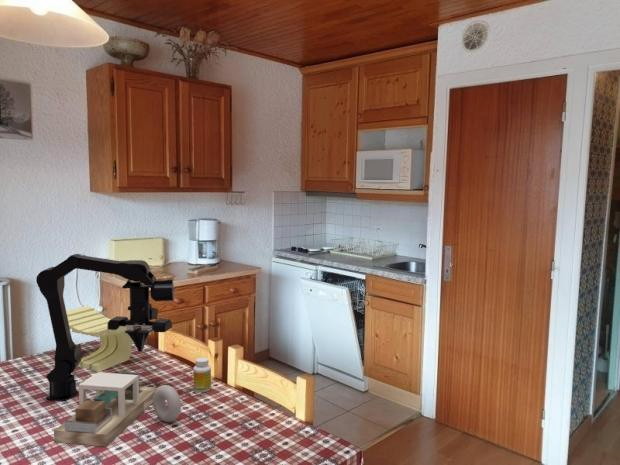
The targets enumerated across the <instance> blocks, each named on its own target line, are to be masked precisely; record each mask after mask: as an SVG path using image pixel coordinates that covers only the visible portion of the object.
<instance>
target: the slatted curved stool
mask: <svg viewBox="0 0 620 465" xmlns="http://www.w3.org/2000/svg"><path fill="white" fill-rule="evenodd" d="M66 313H67V318H68V322H69V327H70V330H71V332H72V333H74V334H81V335H85V336H90V337H94V338H100V340H101V345H100V347H99V348H98V349H97V350H95V351H94V352H92V353H90V354H88V355H86V356H82V357H81V362H80V364H79V365H78V366H77V367H79V368H82V369H86V370H91V371H95V372H102V371H104V370H107V369H109V368H112V367H114V366H115V367H116V366H117V365H120V364H122V363H124V362H127V361H129V359H130V358H131V354H132V345H133V340H132V339H131V337H130V336H129V335H128V333H125V331H126V326H119V328H118V329H117V330H108V327H107V324H108V321H109V320H111V319H112V318H109V317H106V315H103V314H102V313H101V312H100V311H98V310H96V309H95V308H94V307H91V306H88V305H85V306H80V307H77V308H76V307H75V308H72V309H69V310H66ZM151 333H152V331H151V332H150V333H149V335H151ZM149 335H148V336H149Z"/></svg>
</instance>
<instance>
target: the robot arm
mask: <svg viewBox="0 0 620 465" xmlns="http://www.w3.org/2000/svg"><path fill="white" fill-rule="evenodd" d="M75 269H77V270H83V271H92V272H97V273H104V274H111V275H112V274H113V275H116V276H119V277H121V278H123V279H126V280H127V281H126V283H125V284H124V285H122V289H124V290H125V289H128V290H129V291H128V292H129V306H127V311H129V317H128V316H115V317H113V318H110V319H111V320H109V321H108V324H107V327H108V330H117V329H118V328H119V326H126V331H125V333H128V335H129V336H130V337H131V339H132V343H134V346H135V348H136V349H137V351H138V352H143V350H144V348H145V344H146V342H147V339H148V337H149V333H150V332H151V333H152V332H154V333H166V332H168V331H169V330H170V329H171V330H172V328H173V321H172V320H171V319H170V318H158V315H159V309H158V308H155V307H153V305H152V303H150V299H152V300H154V302H174V301H175V287H174V285H175V284H174V279H173V278H167V279H157V278H156V276H155V275H154V274H153V273H152V271H151V268H150V265H149V264H148V262H147V261H145V260H143V259H142V260H141V259H140V260H139V259H132V260H131V259H130V260H113V259H107V258H102V257H94V256H90V255H89V256H88V255H83V254H79V253H74V254H72V255H69V256H68V257H67V258H65V260H63V261H61V262H60V263H59V264H57V265H55V266H51V267H48V268H46V269H43V270H41V271H39V273H38V274H37V276H36V277H35V278H36V279H35V280H36V284H37V286H38V289H39V291H40V294H41V295H42V296H43V297H44V299H45V300H46V304H47V309H48V313H49V318H50V323H51V327H52V332H53V337H54V342H55V351H54V367H53V368H52V369H51V370H50V371H49V372H48V373H47V374H46V378H47V381H48V382H49V383H48V384H49V386H48V387H49V395H48V396H47V397H45V399H46V400H52V401H63V402H64V401H67V400H69V399H71V398H72V397H73V396H75V395H76V394H79V390H77V382H76V380H75V374H72V373H73V372H74V371H75V370H76V369H77V367H78V365H79V364H80V362H81V358H83V357H84V354H83V352H82V349H81V348H82V347H81V346H82V345H81V343H77V344H76V343H75V342H74V341H73V338H72V333H71V332H72V331H71V329H70V327H69V322H68V318H67V313H66V311H67V309H66V305H65V298H64V290H65V286H66V284H65V277H66V276H67V275H69V274H70V273H72V271H74V270H75ZM153 320H155V321H153Z"/></svg>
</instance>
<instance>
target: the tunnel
mask: <svg viewBox="0 0 620 465" xmlns="http://www.w3.org/2000/svg"><path fill="white" fill-rule="evenodd" d="M132 383H133V404H138V403H139V386H140V374H139V375H131V374H118V373H115V372H113V373H112V372H102V371H100V372H98V371H96V373H95V374H93V375H92V376H90V377H88V378H87V379H85V380H84V381H82V382H80V383H79V384H78V397H79V398H78V399H79V401H78V403H79V405H78V406H80V405H81V404H82V403H84V402H85V401H86V400H87V391H86V390H95V398H96V397H98V396H99V395H100V394H102V393H103V391H106V390H109V391H118V407H119V417H123V416H125V389H126V388H127V387H129V386H130V385H131V384H132Z"/></svg>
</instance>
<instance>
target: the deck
mask: <svg viewBox="0 0 620 465" xmlns="http://www.w3.org/2000/svg"><path fill="white" fill-rule="evenodd" d="M157 388H158V387H152V386H140V385H139V389H140V390H139V403H138V404H133V391H131V390H125V416H123V417H119V407H118V396H117V397H116V398H114V399H113V400H112V401H111V402H109V403H108V404H107V405H106V406H105V407H107V408H112V419H110V420H109V421H108V422H107V423H106V424H105V425H103V426H102V427H101V428H100V429H99V430H98V431H97V432H95V433H90V432H79V431H67V430H65V426H64V422H63V423H61V425H59V426H58V427H56V428H55V429H54V430H53V439H54V441H53V442H54V443H62V444H63V443H65V444H74V445H75V444H76V445H87V446H97V447H105V448H106V447H107V446H109V445H110V444H111V443H112V442H113V441H114V440H115V439H116V438H117V437H118V436H119V435H120V434H121V433H122V432H124V430H125V429H127V428H128V427H129V426H131V424H132V423H133V422H134V421H135V420H136V419H138V417H139V416H140V415H142V414H143V413H144V412H145V410H147V409H148V408H149V407H150V406H151V405H153V395H154V392H155V391H156V389H157ZM75 418H76V413H75V414H74V415H73V416H72V417H69V419H67V420H68V421H72V420H74V419H75Z"/></svg>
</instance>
